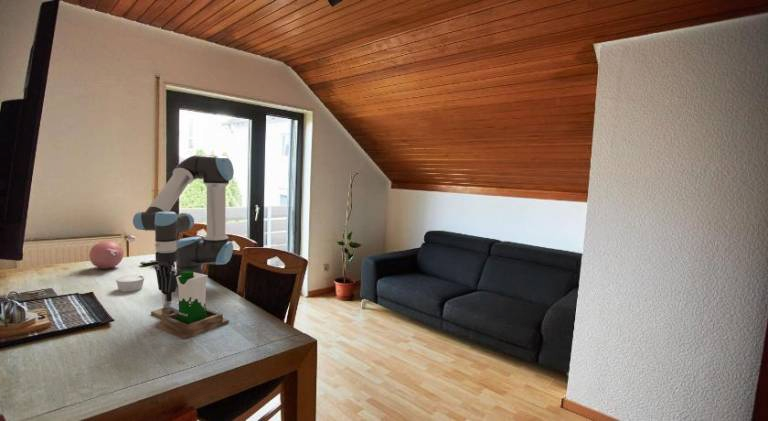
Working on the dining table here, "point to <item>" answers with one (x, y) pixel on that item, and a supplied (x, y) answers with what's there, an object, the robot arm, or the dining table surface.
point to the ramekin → (130, 283)
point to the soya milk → (192, 296)
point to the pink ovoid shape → (106, 254)
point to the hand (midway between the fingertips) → (167, 308)
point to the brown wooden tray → (188, 330)
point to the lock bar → (172, 307)
